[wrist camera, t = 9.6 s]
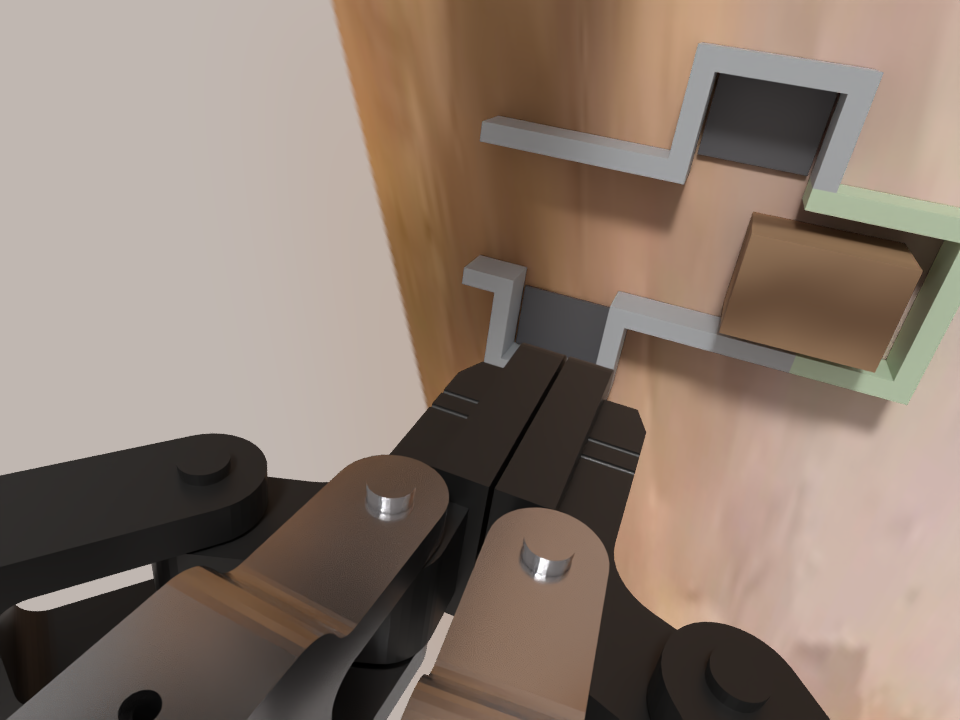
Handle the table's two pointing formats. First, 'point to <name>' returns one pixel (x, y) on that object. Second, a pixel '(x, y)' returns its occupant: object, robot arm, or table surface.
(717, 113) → the track
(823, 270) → the block
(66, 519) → the robot arm
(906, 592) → the table surface
